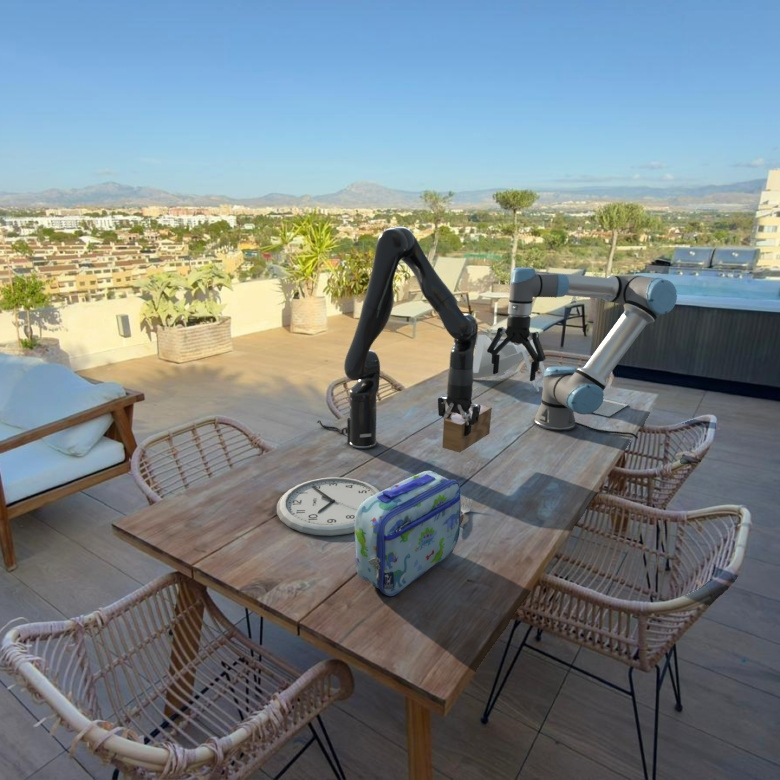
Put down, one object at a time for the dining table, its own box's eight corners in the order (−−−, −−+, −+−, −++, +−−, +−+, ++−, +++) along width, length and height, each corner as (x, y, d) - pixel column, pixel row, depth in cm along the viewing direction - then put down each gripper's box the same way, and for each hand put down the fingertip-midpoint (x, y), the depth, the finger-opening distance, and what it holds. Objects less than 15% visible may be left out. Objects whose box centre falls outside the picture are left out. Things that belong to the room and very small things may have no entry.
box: (472, 429, 179) (474, 403, 176) (489, 433, 176) (491, 407, 173) (442, 447, 164) (443, 420, 161) (459, 452, 160) (461, 424, 157)
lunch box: (383, 609, 104) (384, 516, 98) (348, 583, 111) (347, 495, 105) (463, 555, 122) (469, 473, 115) (429, 536, 129) (432, 458, 123)
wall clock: (392, 527, 129) (268, 531, 127) (391, 533, 130) (269, 537, 127) (383, 473, 158) (282, 475, 155) (383, 478, 158) (282, 480, 156)
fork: (449, 533, 130) (450, 526, 130) (463, 503, 145) (463, 496, 144) (459, 535, 129) (460, 528, 129) (472, 505, 144) (473, 498, 143)
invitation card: (608, 416, 214) (573, 407, 224) (608, 416, 214) (573, 408, 224) (628, 404, 229) (594, 396, 238) (628, 405, 229) (594, 397, 238)
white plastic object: (484, 420, 263) (463, 398, 239) (465, 347, 285) (445, 319, 261) (556, 396, 251) (542, 370, 226) (530, 322, 273) (515, 290, 248)
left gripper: (433, 379, 159) (430, 430, 164) (475, 388, 151) (471, 442, 156) (446, 374, 165) (443, 424, 170) (487, 383, 157) (483, 434, 162)
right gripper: (480, 312, 178) (476, 372, 184) (551, 321, 164) (544, 385, 170) (490, 310, 184) (485, 368, 190) (560, 318, 170) (552, 380, 176)
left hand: (456, 432), depth 163 cm, fingers closed on box, 6 cm apart
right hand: (513, 376), depth 180 cm, fingers open, 13 cm apart
